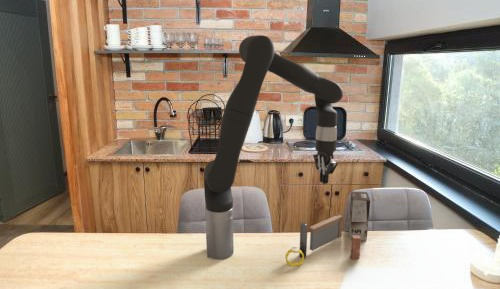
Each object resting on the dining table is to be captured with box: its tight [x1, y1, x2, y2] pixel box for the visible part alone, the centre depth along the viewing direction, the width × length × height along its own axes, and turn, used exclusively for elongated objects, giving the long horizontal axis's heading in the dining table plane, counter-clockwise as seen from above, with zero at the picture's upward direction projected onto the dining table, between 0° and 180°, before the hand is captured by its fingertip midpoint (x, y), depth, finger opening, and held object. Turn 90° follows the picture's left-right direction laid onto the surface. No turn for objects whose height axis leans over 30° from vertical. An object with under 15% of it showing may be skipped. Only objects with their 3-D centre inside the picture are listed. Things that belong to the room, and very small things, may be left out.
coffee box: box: [347, 191, 371, 241], centre depth 132 cm, size 9×6×16 cm
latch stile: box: [349, 235, 362, 261], centre depth 117 cm, size 2×2×8 cm
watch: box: [285, 246, 305, 267], centre depth 113 cm, size 6×3×6 cm, turn 90°
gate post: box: [298, 222, 309, 259], centre depth 118 cm, size 2×2×12 cm
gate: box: [308, 214, 344, 252], centre depth 124 cm, size 16×2×8 cm, turn 129°
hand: (323, 182), depth 130 cm, fingers closed
